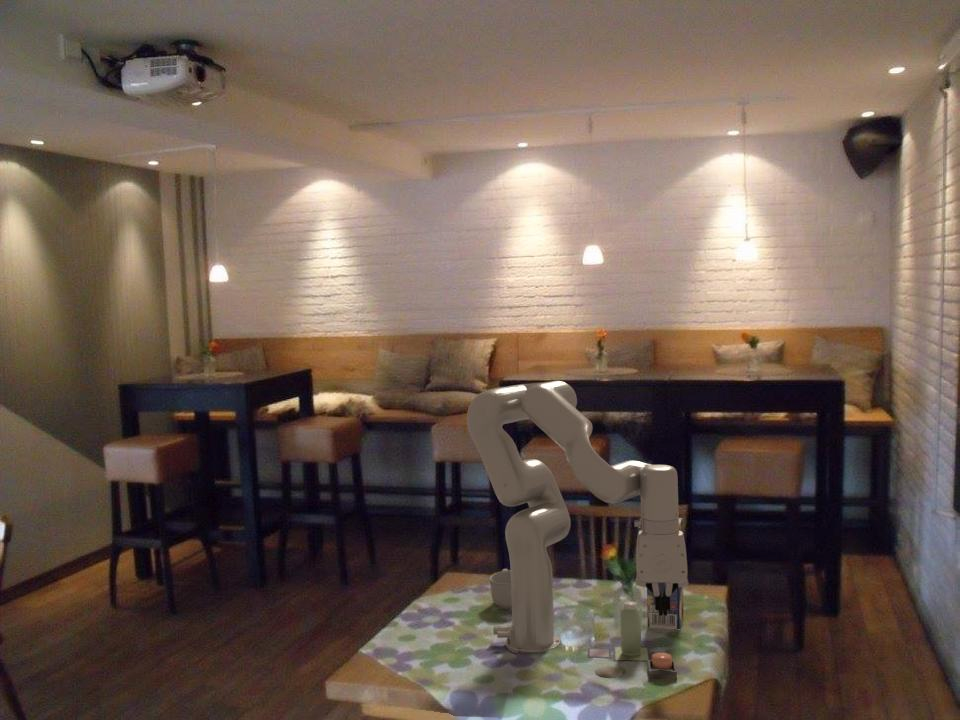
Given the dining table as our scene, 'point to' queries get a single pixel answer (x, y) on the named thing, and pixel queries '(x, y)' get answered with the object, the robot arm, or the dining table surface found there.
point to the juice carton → (673, 614)
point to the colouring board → (644, 656)
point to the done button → (662, 661)
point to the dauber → (630, 629)
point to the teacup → (501, 588)
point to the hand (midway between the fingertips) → (662, 613)
